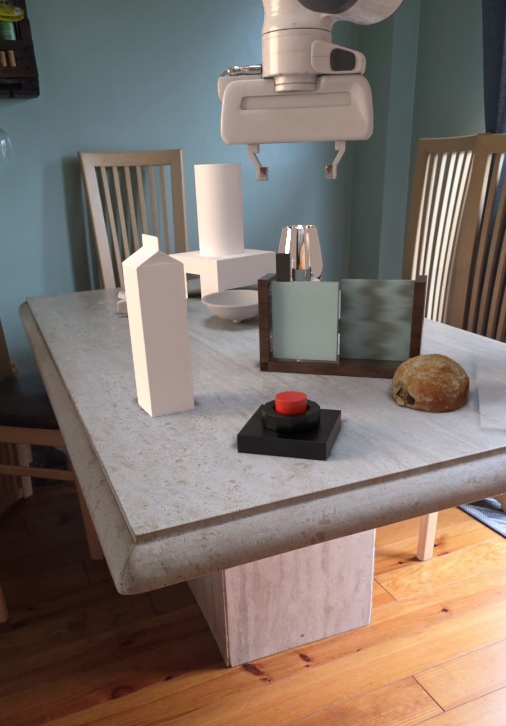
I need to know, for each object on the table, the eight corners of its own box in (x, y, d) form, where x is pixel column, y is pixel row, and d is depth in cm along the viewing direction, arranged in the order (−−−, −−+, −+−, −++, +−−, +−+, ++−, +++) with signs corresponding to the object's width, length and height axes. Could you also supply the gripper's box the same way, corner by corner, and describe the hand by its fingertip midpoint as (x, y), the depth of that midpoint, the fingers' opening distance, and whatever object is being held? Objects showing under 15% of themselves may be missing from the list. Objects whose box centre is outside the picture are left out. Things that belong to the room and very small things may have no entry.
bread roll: (383, 421, 86) (370, 376, 81) (424, 375, 90) (414, 330, 85) (446, 440, 79) (436, 394, 74) (487, 390, 83) (481, 342, 78)
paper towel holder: (219, 304, 146) (211, 163, 133) (172, 295, 158) (161, 166, 146) (276, 292, 157) (274, 162, 144) (228, 285, 170) (222, 164, 157)
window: (337, 359, 95) (340, 253, 89) (336, 361, 94) (339, 254, 88) (274, 356, 98) (272, 252, 91) (272, 357, 97) (270, 253, 91)
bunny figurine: (118, 302, 130) (112, 283, 143) (120, 326, 133) (115, 305, 145) (162, 299, 133) (153, 280, 145) (164, 322, 135) (155, 301, 148)
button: (309, 406, 72) (309, 391, 71) (303, 417, 69) (303, 402, 68) (279, 404, 73) (279, 389, 72) (271, 414, 70) (271, 400, 69)
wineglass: (268, 347, 109) (265, 227, 101) (297, 338, 114) (297, 223, 106) (302, 355, 104) (302, 229, 96) (331, 345, 109) (333, 225, 101)
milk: (179, 397, 87) (165, 231, 78) (195, 410, 82) (182, 235, 74) (137, 404, 85) (118, 235, 76) (151, 418, 80) (133, 238, 71)
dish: (205, 313, 137) (203, 290, 135) (270, 311, 137) (270, 288, 135) (200, 333, 121) (198, 307, 119) (274, 330, 121) (273, 304, 119)
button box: (340, 426, 75) (341, 395, 74) (325, 461, 67) (326, 427, 65) (261, 420, 78) (261, 390, 77) (237, 453, 70) (235, 419, 68)
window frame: (419, 368, 96) (427, 275, 90) (417, 380, 91) (425, 282, 85) (269, 360, 102) (268, 273, 97) (259, 371, 97) (257, 279, 91)
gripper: (212, 63, 78) (218, 182, 84) (377, 54, 75) (371, 178, 81) (221, 70, 84) (225, 181, 90) (375, 61, 81) (369, 177, 87)
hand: (296, 180), depth 85 cm, fingers open, 8 cm apart
